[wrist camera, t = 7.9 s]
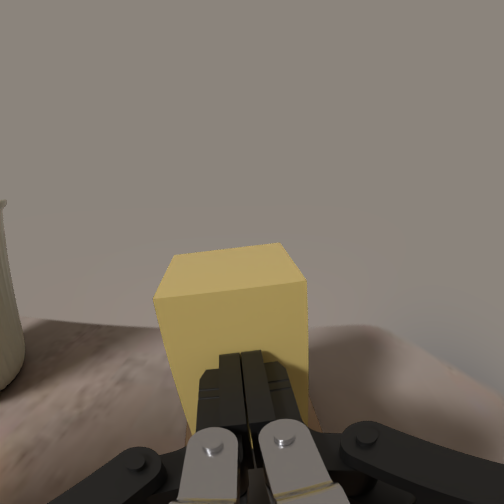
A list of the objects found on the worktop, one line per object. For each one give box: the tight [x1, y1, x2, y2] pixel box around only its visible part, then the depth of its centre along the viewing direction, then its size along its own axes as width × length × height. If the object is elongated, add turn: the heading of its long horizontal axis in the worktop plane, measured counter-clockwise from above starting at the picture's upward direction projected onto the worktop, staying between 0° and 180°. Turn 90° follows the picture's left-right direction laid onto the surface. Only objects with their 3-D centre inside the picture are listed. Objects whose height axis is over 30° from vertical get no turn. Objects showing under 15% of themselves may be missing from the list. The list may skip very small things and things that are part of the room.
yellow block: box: [153, 243, 308, 449], centre depth 14 cm, size 5×5×10 cm
